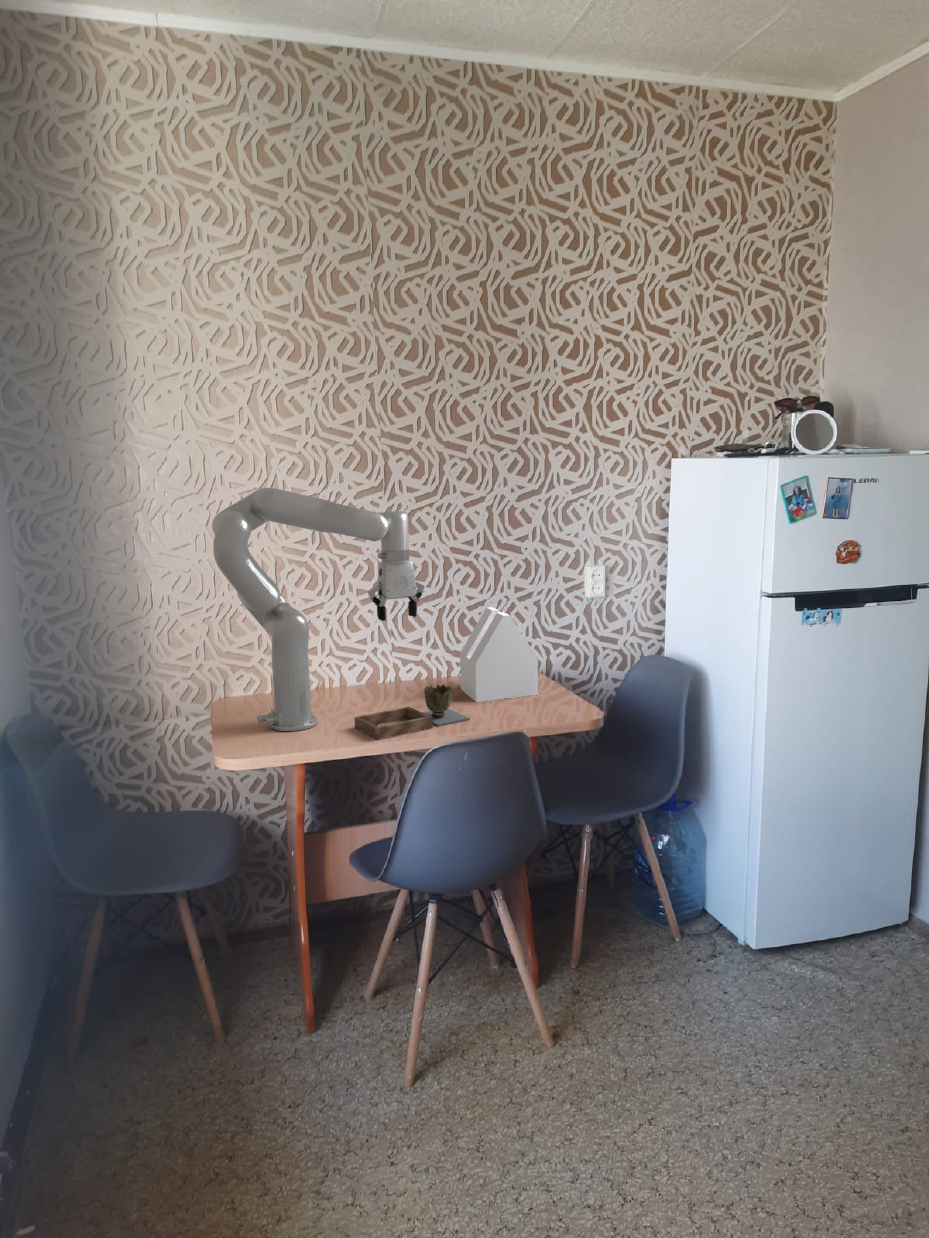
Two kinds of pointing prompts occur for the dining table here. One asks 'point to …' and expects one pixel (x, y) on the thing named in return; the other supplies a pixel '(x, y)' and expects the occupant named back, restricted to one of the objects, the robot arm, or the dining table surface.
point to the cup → (437, 699)
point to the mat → (447, 718)
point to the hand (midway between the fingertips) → (397, 618)
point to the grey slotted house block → (497, 660)
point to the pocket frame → (412, 725)
